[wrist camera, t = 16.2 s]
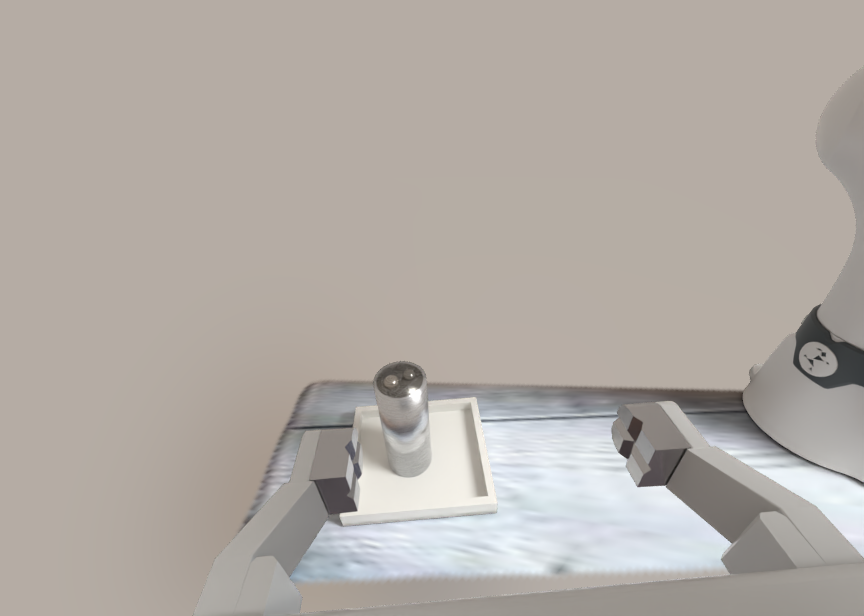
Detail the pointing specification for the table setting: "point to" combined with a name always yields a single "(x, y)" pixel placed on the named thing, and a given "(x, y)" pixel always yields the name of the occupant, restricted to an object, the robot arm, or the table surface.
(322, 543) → the table surface
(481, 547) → the table surface
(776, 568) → the robot arm
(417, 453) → the metal cup with balls
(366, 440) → the cream tray
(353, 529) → the table surface
